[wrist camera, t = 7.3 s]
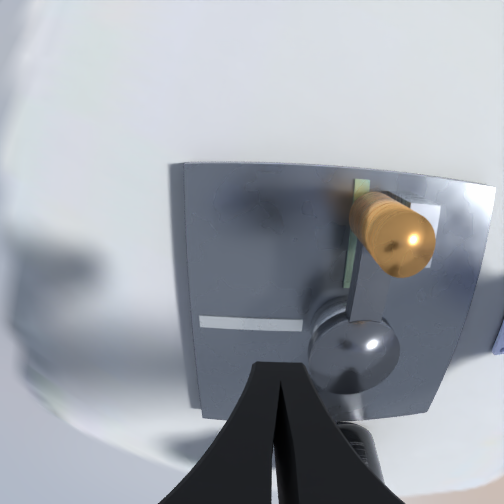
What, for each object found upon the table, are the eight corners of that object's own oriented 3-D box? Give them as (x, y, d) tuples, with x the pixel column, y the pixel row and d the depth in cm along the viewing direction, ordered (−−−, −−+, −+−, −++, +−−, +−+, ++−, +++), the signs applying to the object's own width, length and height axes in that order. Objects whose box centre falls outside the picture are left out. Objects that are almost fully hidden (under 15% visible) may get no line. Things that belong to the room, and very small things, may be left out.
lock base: (486, 184, 16) (525, 198, 12) (423, 404, 22) (438, 438, 18) (188, 161, 17) (165, 169, 13) (204, 408, 23) (195, 448, 19)
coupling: (380, 375, 17) (397, 424, 13) (301, 377, 17) (307, 429, 14) (422, 197, 14) (466, 218, 10) (325, 187, 14) (345, 206, 10)
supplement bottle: (279, 451, 24) (278, 571, 13) (332, 410, 22) (352, 549, 11) (335, 469, 25) (347, 572, 14) (387, 432, 23) (417, 546, 12)
